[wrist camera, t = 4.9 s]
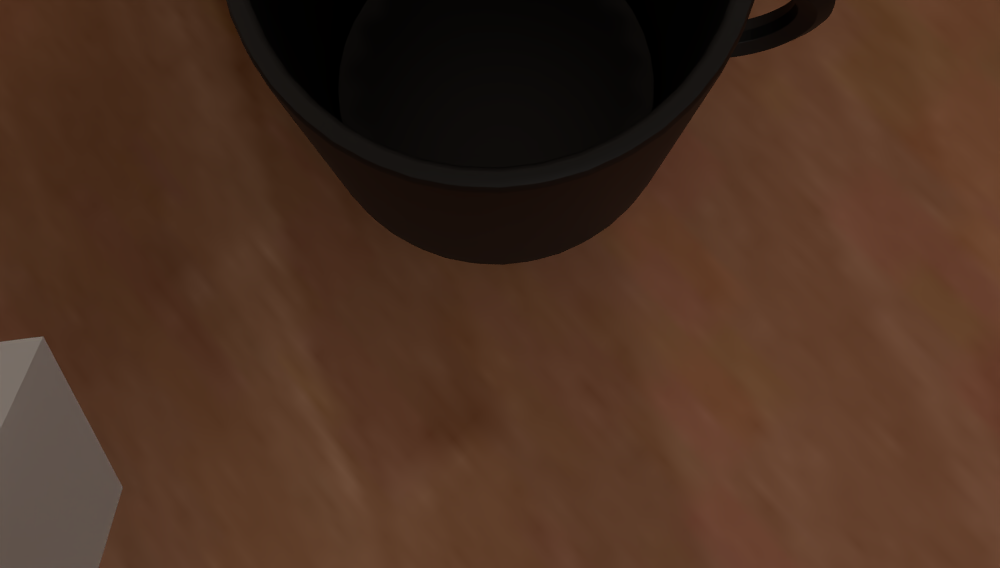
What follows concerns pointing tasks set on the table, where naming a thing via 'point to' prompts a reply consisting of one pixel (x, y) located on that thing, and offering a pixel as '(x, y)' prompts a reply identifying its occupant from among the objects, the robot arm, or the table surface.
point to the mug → (501, 104)
